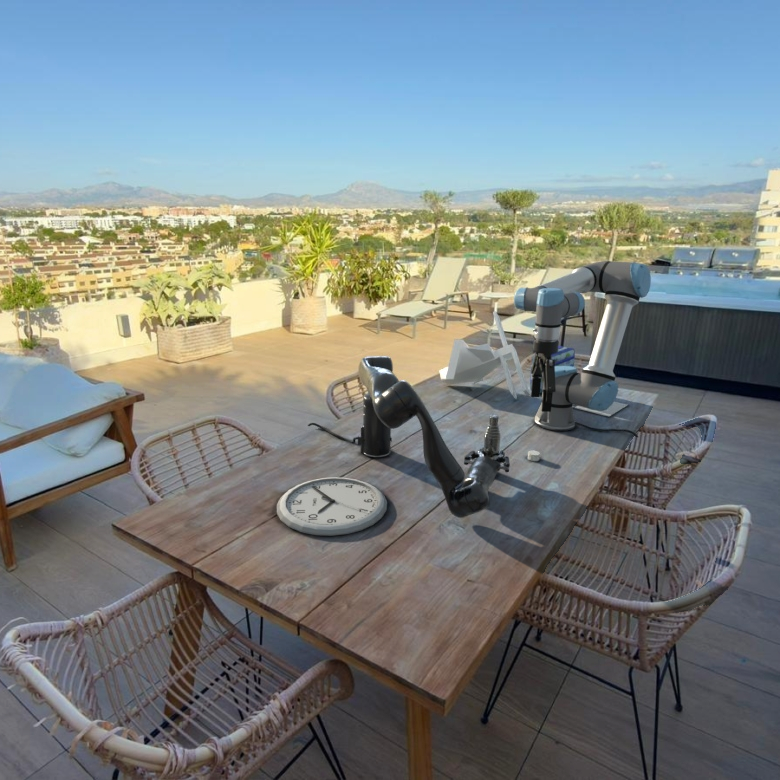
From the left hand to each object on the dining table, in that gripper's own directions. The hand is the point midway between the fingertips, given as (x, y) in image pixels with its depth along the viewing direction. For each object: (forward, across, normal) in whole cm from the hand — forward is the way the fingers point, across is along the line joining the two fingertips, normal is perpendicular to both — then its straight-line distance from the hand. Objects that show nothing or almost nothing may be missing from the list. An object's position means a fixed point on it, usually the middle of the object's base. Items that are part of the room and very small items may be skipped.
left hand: (492, 451), depth 164 cm
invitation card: (+80, -32, +6) cm, 87 cm away
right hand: (+14, -12, -13) cm, 23 cm away
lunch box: (+95, -10, +6) cm, 96 cm away
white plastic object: (+79, +21, +6) cm, 82 cm away
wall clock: (-40, +36, +6) cm, 54 cm away
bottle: (-3, 0, +6) cm, 7 cm away
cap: (+14, -12, +4) cm, 18 cm away
